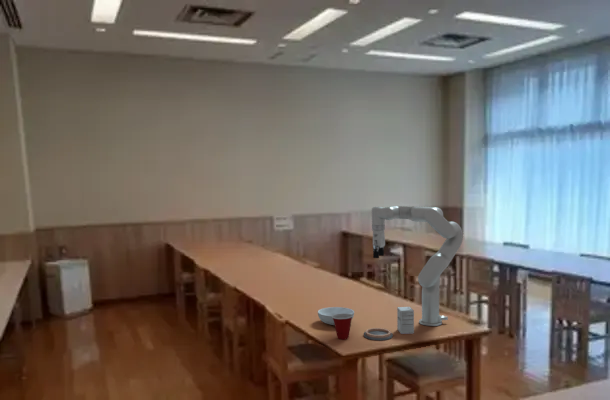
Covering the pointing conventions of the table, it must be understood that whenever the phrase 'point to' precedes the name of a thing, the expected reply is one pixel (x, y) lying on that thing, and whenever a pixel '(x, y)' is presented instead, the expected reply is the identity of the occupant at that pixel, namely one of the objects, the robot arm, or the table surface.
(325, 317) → the serving bowl
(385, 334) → the ring tray
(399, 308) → the supplement box
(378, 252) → the robot arm
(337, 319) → the plastic cup
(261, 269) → the table surface
